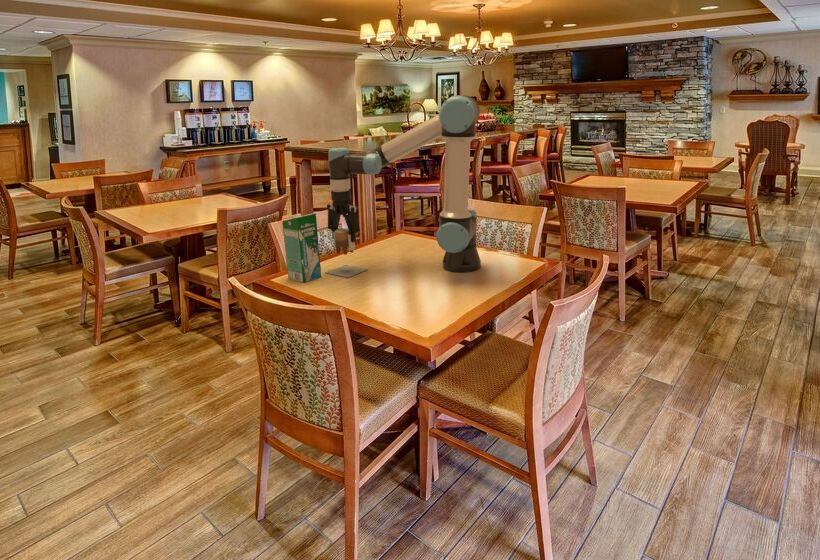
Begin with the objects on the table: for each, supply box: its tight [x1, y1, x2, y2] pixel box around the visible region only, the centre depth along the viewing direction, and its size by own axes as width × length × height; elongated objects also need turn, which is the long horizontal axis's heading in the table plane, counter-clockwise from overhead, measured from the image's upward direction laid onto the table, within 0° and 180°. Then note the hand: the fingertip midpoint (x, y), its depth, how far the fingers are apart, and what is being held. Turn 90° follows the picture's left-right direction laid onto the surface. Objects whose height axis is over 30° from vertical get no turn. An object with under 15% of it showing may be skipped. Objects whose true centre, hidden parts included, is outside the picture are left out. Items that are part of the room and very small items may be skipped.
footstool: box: [335, 227, 354, 255], centre depth 219 cm, size 7×7×9 cm
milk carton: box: [281, 213, 322, 283], centre depth 213 cm, size 9×9×25 cm
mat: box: [324, 264, 369, 279], centre depth 222 cm, size 12×12×1 cm
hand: (344, 248), depth 219 cm, fingers closed on footstool, 7 cm apart
